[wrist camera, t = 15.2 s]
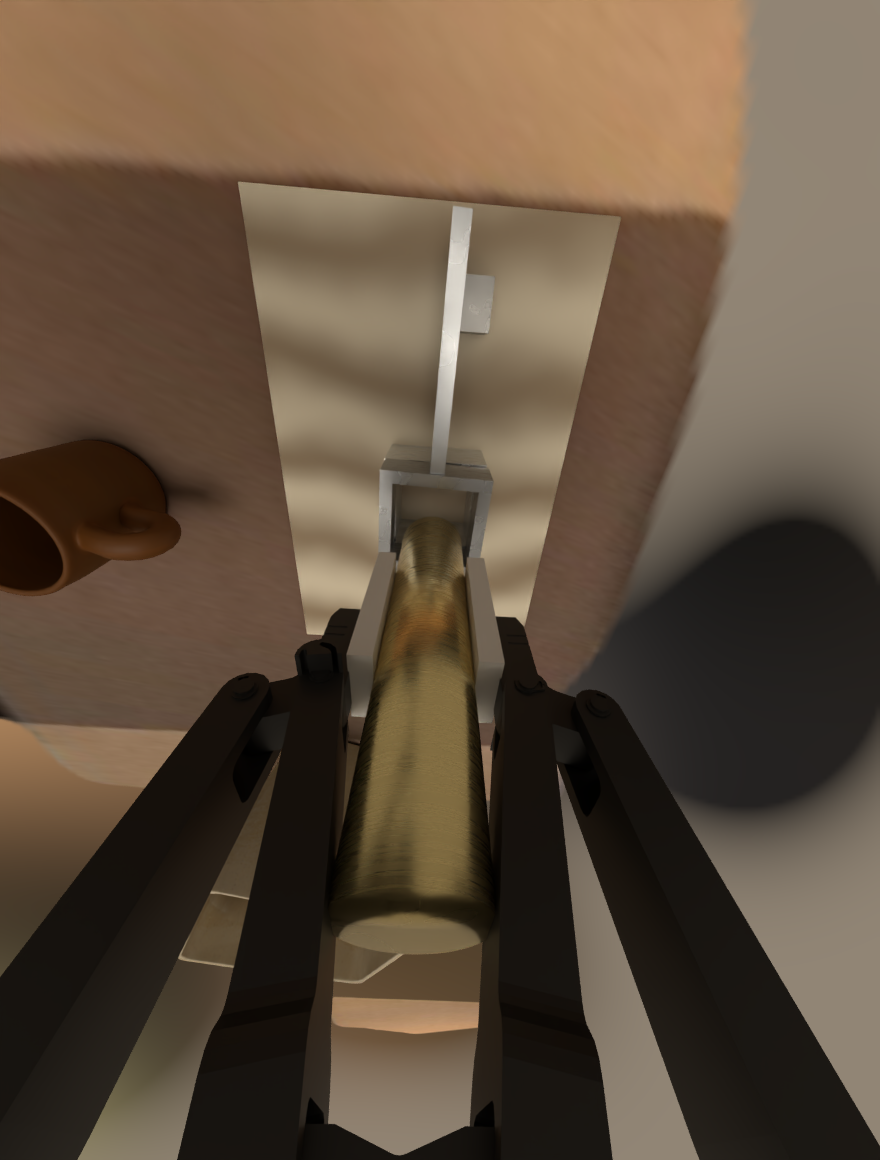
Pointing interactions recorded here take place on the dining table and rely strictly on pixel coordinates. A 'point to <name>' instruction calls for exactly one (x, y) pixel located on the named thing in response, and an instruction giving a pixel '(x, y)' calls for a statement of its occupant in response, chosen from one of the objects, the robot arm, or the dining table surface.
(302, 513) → the board
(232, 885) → the flower pot
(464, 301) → the hinge base
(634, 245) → the dining table surface
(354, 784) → the pin
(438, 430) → the square frame with bar
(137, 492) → the mug
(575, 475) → the dining table surface
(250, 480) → the dining table surface
